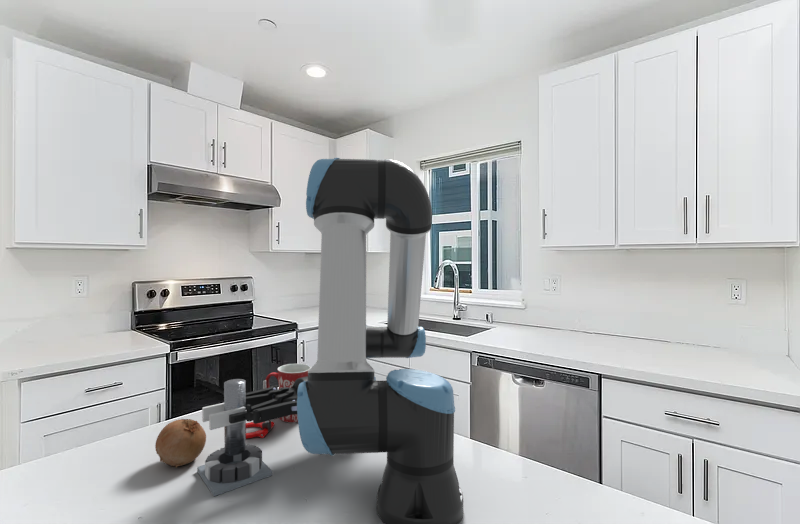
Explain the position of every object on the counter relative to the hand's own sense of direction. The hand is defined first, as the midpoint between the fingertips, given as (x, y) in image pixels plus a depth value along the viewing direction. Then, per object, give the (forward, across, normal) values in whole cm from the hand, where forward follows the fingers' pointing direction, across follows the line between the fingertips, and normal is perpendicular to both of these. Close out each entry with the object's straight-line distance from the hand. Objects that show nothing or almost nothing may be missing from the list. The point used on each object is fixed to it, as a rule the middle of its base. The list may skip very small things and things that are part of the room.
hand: (206, 418), depth 79 cm
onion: (+2, +12, -13) cm, 17 cm away
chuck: (-5, 0, -12) cm, 13 cm away
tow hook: (-15, +16, -13) cm, 26 cm away
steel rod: (-5, 0, -8) cm, 10 cm away
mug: (-26, +20, -13) cm, 35 cm away
